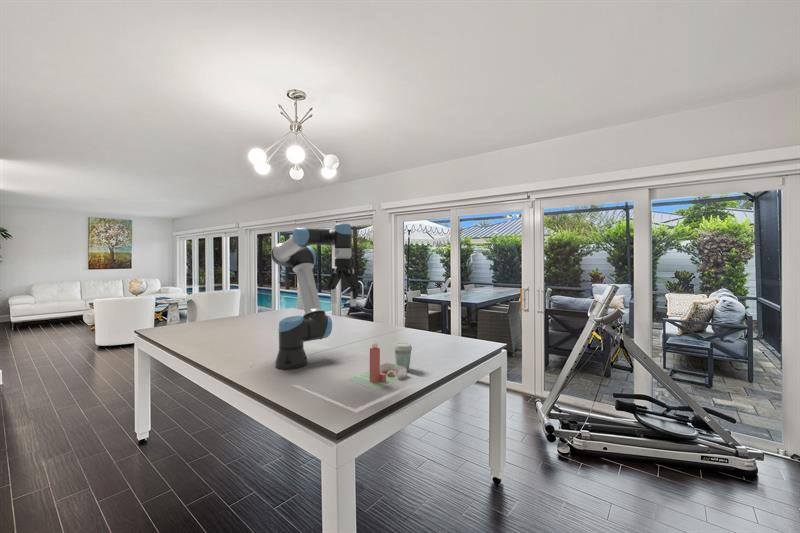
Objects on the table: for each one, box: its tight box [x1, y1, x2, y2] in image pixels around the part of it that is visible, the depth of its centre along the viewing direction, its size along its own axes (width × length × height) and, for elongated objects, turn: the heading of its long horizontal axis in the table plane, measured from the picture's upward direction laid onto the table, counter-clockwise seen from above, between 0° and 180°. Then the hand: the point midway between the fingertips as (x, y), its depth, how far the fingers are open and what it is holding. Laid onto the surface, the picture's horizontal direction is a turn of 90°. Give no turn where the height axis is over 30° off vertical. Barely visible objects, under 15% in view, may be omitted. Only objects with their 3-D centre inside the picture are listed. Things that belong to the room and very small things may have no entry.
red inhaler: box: [369, 341, 387, 383], centre depth 147 cm, size 7×5×16 cm
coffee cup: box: [393, 342, 413, 372], centre depth 165 cm, size 8×8×12 cm
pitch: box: [346, 370, 400, 391], centre depth 148 cm, size 18×14×1 cm
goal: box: [380, 361, 408, 380], centre depth 155 cm, size 12×6×5 cm, turn 50°
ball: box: [386, 370, 396, 378], centre depth 153 cm, size 4×4×4 cm
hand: (343, 304), depth 158 cm, fingers open, 13 cm apart
